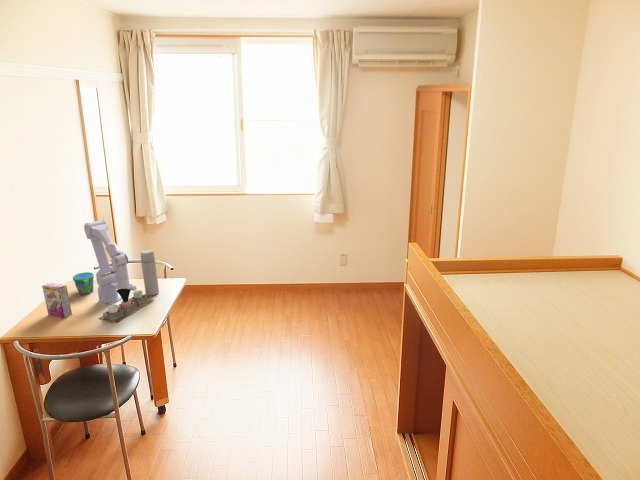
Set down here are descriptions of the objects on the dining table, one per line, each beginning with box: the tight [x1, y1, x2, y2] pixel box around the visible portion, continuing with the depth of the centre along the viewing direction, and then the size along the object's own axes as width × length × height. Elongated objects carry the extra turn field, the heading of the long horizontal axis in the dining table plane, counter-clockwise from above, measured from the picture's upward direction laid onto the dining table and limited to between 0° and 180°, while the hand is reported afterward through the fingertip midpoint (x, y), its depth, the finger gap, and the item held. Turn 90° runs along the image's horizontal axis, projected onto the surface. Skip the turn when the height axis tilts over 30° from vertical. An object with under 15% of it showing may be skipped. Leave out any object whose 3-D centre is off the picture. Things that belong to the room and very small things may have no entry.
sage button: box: [132, 290, 144, 300], centre depth 240 cm, size 4×4×4 cm
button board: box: [98, 294, 154, 324], centre depth 233 cm, size 12×26×3 cm, turn 160°
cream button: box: [107, 303, 118, 315], centre depth 224 cm, size 4×4×4 cm
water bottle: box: [139, 249, 160, 296], centre depth 249 cm, size 9×8×25 cm
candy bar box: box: [42, 282, 73, 319], centre depth 226 cm, size 11×5×16 cm, turn 71°
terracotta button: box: [120, 299, 131, 307], centre depth 233 cm, size 4×4×4 cm
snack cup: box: [72, 271, 95, 295], centre depth 253 cm, size 16×10×10 cm
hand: (125, 301), depth 232 cm, fingers closed, pressing on terracotta button
